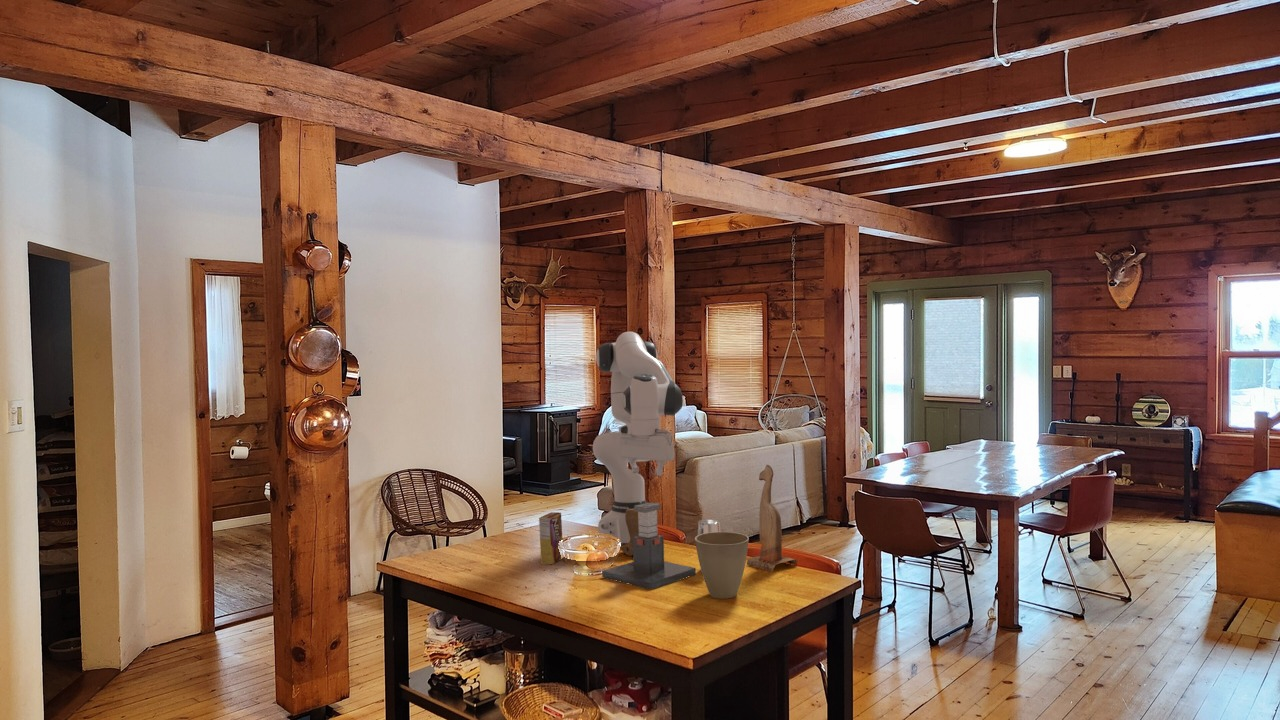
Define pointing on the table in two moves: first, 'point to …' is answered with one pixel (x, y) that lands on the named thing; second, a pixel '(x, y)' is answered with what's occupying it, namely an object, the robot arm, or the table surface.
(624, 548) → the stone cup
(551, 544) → the candy box
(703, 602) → the table surface
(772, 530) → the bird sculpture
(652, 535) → the light grey tall block
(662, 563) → the stand
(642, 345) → the robot arm
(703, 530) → the beer glass
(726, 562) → the plant pot
